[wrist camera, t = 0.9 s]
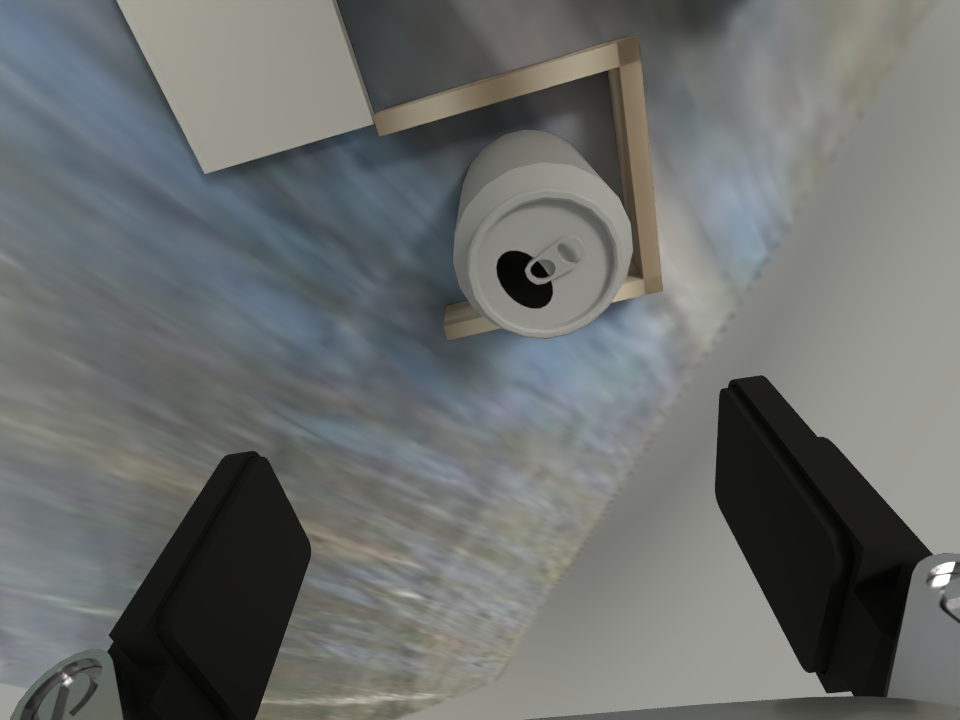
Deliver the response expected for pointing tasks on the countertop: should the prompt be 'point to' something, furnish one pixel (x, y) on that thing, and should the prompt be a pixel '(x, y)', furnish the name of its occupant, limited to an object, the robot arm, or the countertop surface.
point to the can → (539, 237)
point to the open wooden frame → (630, 139)
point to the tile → (251, 73)
